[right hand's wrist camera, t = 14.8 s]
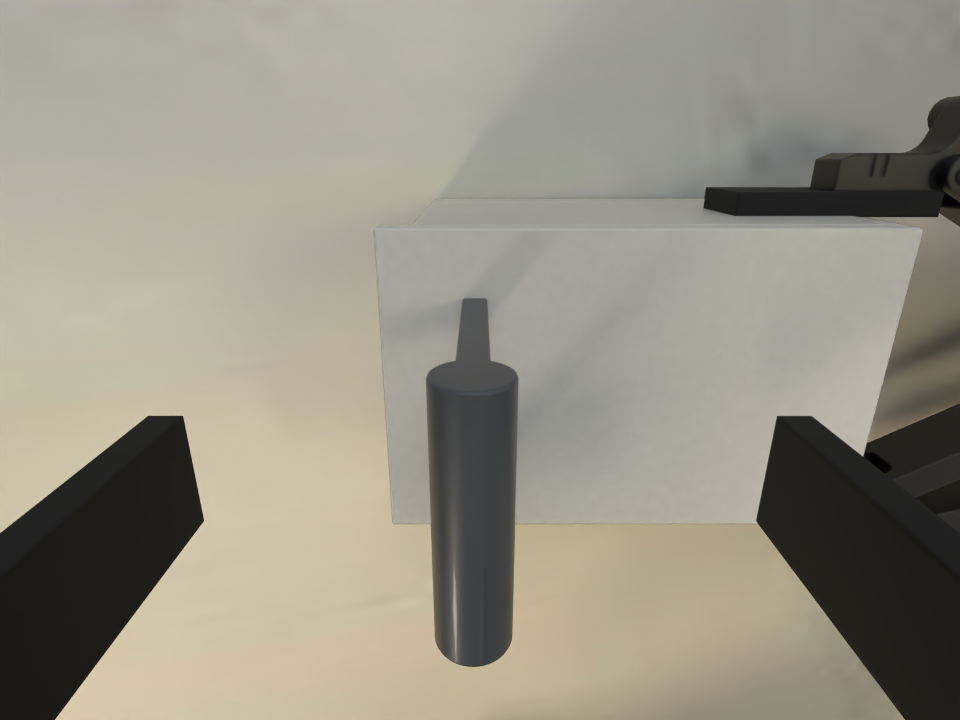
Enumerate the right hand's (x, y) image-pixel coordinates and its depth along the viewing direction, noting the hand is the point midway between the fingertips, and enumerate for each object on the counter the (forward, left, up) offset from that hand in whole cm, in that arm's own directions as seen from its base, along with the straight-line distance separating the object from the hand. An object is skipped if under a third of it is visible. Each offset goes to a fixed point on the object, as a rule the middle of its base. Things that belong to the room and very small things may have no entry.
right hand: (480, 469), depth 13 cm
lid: (+3, -3, -5) cm, 7 cm away
